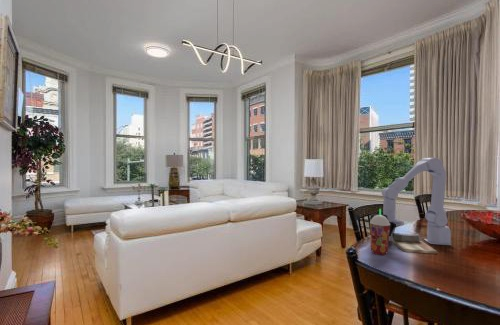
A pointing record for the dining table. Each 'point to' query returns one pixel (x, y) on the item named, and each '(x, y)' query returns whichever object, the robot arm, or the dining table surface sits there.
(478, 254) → the dining table surface
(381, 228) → the smoothie
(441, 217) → the robot arm
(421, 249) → the board
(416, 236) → the leg
